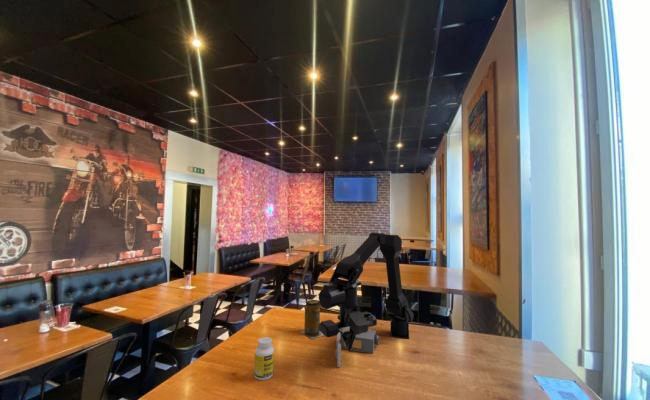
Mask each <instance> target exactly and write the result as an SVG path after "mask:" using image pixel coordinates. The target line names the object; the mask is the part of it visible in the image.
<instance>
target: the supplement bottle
mask: <svg viewBox="0 0 650 400" xmlns="http://www.w3.org/2000/svg"><path fill="white" fill-rule="evenodd" d="M274 357H275V348H274V346H273V338H271V337H267V336H264V337H260V338H259V339H258V340H257V347H256V348H255V350H254V364H253V365H254V366H253V367H254V369H253V376H254V378H255V379H256V380H259V381H265V380H269V379H271V377H272V376H273V375H274V364H275V363H274V362H275V360H274V359H275V358H274Z"/></svg>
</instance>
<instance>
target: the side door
mask: <svg viewBox="0 0 650 400" xmlns="http://www.w3.org/2000/svg"><path fill="white" fill-rule="evenodd" d="M334 355H335V360H337V361H336V362H337V368H342V348H341V337H340V332H339V333H338V334H337V336H336V349H335V354H334Z"/></svg>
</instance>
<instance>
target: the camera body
mask: <svg viewBox="0 0 650 400" xmlns="http://www.w3.org/2000/svg"><path fill="white" fill-rule="evenodd" d="M376 333H377V331H376V329H369V328H368V332H366V333H365V332H364V333H360V334H359V335H356V337H355V339H354V342H353V345H352V348H351V351H355V352H362V353H367V354H368V353H369V354H374V351H375V347H376V346H378V345H379V340H380V337H379V334H376ZM340 337H341V350H342V349H344V350H348V349H347V347H346V345H345V342H344V340H343V337H342V335H341V334H340Z"/></svg>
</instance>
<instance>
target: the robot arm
mask: <svg viewBox="0 0 650 400" xmlns="http://www.w3.org/2000/svg"><path fill="white" fill-rule="evenodd" d="M402 245H403V241H402V237H400V236H399V235H398V234H389V233H387V234H385V233H383V232H376V231H375V232H374V231H373V232H370V233H369V235H368V237H367V238H366V239H365V240H364V242H362V243H361V244H360V246H359V247H358V248H357V249H356V250H355V251H354V252H353V253H352V254H350V255H348V256H344V258H342V259H340V260H339V261H338V263H337V264H336V265H335V268H334V271H333V273H332V275H331V277H330V279H329V283H327V284H326V283H325V284H323V285H322V289H321V290H320V291H319V294H318V301H319V305H320V306H321V307H322V308H324V309H325V310H328V309H329V310H330V309H331V308H335V307H338V308H339V315H337V319H338V320H339V321H338V322H335V321H333V320H331V319H327V320H322V321H320V324H319V331H320V332H321V333H323V334H324V335H323V336H325V337H326V338H332V337H337V334H338V333H339V332H340V334H341V335H342V337H343V340H344V342H345V345H346V347H347V349H346V350H347V351H348V352H351V351H352V350H351V348H352V345H353V342H354V339H355V337H356V335H359V334H360V333H364V332H365V333H366V332H368V329H369V328H372V327H375V326H377V323H378V320H377V317H376V315H374V314H373V313H371V312H369V311H363V312H362V311H361V307H360V305H359V304H358V286H362V282H361V281H360V280H359V278H360V277H361V275H362V273H363V272H364V265H365V264H366V262H367V261H368V260H369V259H370V258H371V257H372V255H373V254H374V253H375V252H376V251H377V249H378V248H379V250H380V253H381V254H382V255H383V256H384V258H385V267H386V275H387V285H388V292H389V293H388V295H387V298H385V299H384V305H385V310H386V314H387V317H389V318H391V320H390V333H391V336H392V337H394V338H395V337H396V338H402V339H410V330H409V328H410V327H409V326H410V324H409V323H412V322H413V320H414V314H415V313H414V312H413V311H412V309H411V308H410V307H409V302H408V299H407V297H406V296H405V294H404V293H403V288H402V280H401V278H402V277H401V269H400V260H399V256H400V254H401V252H402V250H403V248H402V247H403V246H402Z"/></svg>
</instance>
